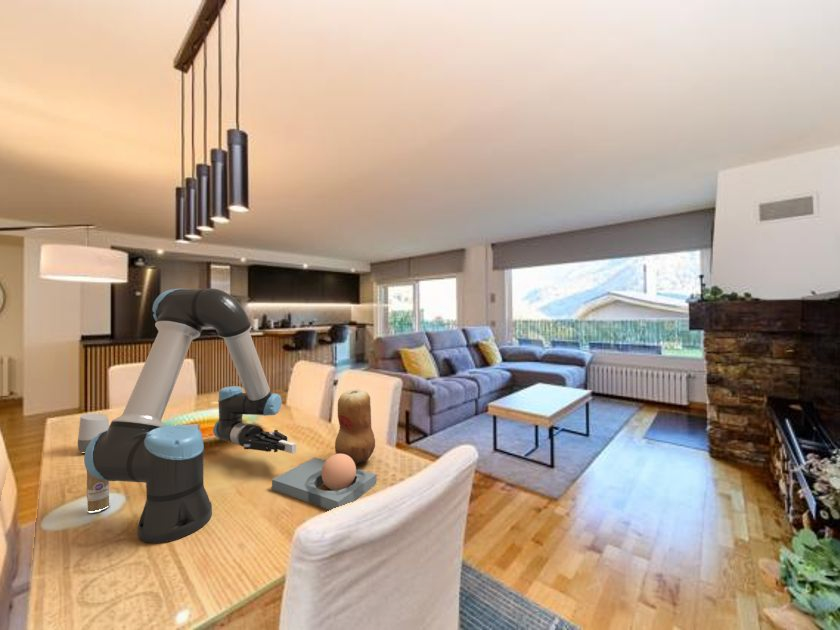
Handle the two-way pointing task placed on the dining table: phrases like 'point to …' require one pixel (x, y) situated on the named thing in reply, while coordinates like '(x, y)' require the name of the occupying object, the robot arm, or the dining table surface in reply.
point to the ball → (338, 472)
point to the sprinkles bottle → (97, 493)
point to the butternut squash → (355, 426)
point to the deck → (308, 478)
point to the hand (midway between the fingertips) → (294, 448)
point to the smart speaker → (91, 428)
